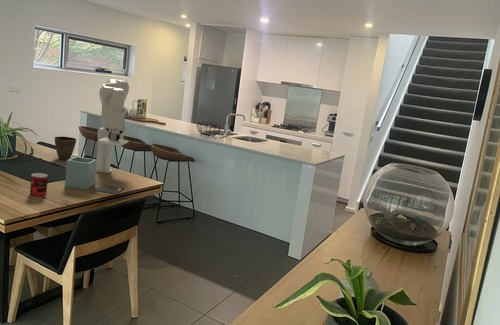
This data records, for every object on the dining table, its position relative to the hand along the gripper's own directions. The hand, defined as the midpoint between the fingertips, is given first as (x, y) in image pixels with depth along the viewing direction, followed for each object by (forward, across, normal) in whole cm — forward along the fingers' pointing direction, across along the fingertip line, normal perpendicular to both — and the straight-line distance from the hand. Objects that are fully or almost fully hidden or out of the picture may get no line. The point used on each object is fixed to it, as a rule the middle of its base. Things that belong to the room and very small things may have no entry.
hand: (113, 139), depth 232 cm
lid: (+1, 0, 0) cm, 1 cm away
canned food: (+32, +29, +27) cm, 51 cm away
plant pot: (+31, +53, -59) cm, 85 cm away
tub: (+31, +18, 0) cm, 36 cm away
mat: (+31, 0, 0) cm, 31 cm away
